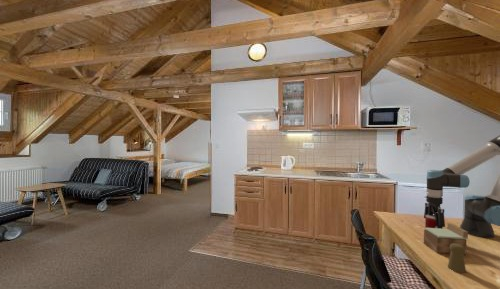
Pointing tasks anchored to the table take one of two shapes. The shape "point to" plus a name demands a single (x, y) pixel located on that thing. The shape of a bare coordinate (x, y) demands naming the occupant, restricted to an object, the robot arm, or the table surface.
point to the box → (441, 243)
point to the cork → (457, 258)
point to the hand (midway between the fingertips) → (433, 234)
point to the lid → (449, 232)
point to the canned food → (430, 221)
